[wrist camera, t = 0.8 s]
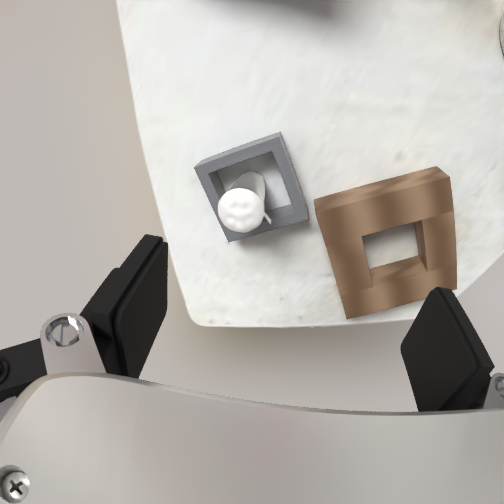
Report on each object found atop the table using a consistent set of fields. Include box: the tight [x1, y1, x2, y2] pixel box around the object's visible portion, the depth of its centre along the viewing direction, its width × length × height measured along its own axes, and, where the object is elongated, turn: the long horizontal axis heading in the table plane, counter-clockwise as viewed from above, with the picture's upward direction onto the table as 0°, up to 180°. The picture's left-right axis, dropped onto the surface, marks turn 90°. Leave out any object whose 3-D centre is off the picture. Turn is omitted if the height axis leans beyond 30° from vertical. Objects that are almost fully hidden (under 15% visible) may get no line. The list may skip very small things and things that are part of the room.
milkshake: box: [218, 171, 271, 233], centre depth 34 cm, size 4×5×10 cm
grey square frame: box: [194, 132, 309, 242], centre depth 37 cm, size 10×10×3 cm
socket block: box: [314, 166, 457, 319], centre depth 38 cm, size 16×16×4 cm
